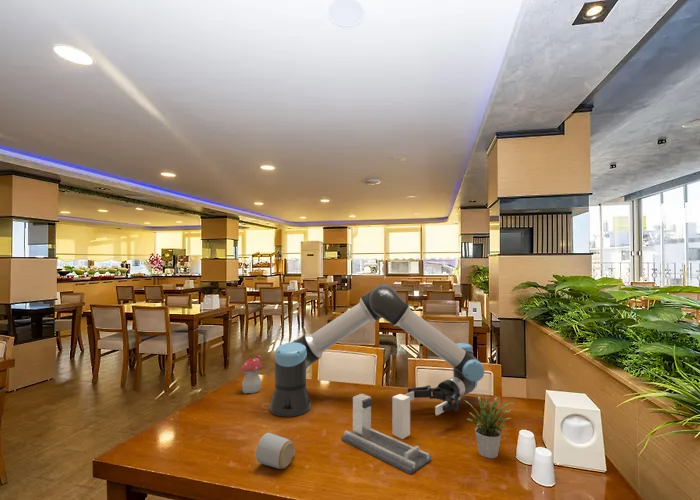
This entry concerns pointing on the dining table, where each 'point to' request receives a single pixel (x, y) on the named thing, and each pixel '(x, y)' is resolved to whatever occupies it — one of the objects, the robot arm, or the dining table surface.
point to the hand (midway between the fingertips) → (418, 405)
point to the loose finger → (401, 416)
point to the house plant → (488, 428)
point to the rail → (381, 440)
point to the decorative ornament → (251, 375)
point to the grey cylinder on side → (275, 451)
